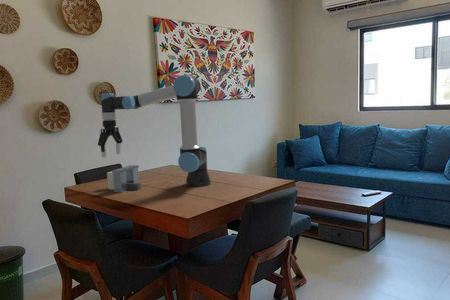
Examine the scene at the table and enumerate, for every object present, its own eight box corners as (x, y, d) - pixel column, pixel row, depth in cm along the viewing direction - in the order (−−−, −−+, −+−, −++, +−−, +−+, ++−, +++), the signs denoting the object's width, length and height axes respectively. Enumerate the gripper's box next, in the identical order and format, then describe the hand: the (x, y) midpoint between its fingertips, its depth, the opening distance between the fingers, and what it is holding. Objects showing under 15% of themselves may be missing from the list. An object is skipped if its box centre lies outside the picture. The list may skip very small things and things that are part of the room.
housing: (140, 185, 231) (138, 165, 229) (122, 192, 214) (120, 170, 212) (131, 185, 233) (129, 165, 231) (113, 192, 216) (111, 170, 215)
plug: (141, 188, 223) (140, 172, 222) (136, 190, 218) (135, 173, 217) (113, 187, 230) (111, 171, 229) (107, 189, 225) (106, 172, 224)
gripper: (116, 118, 235) (118, 152, 237) (89, 121, 211) (92, 158, 214) (126, 118, 232) (129, 152, 235) (100, 120, 209) (103, 158, 211)
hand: (111, 155), depth 224 cm, fingers open, 13 cm apart
